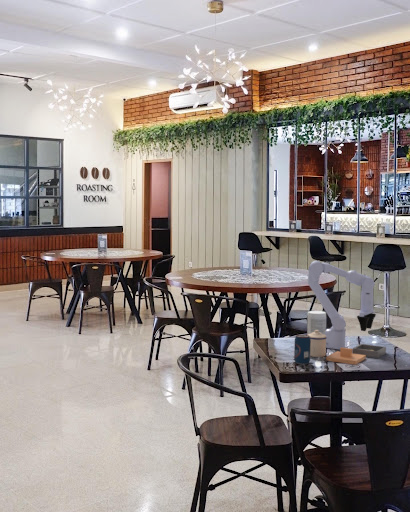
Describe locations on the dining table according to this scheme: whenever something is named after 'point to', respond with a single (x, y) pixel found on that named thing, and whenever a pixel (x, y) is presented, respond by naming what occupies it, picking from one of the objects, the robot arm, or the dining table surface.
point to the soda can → (302, 349)
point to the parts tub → (369, 350)
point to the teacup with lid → (317, 344)
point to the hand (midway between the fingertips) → (366, 329)
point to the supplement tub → (316, 322)
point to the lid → (346, 356)
